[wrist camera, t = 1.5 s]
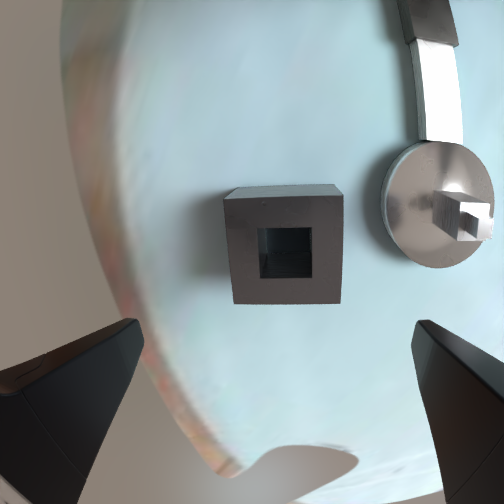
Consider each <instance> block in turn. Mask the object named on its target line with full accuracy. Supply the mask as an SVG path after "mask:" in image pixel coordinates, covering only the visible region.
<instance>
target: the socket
mask: <svg viewBox="0 0 504 504" xmlns="http://www.w3.org/2000/svg"><path fill="white" fill-rule="evenodd" d="M223 202H224V213H225V223H226V233H227V243H228V253H229V263H230V273H231V282H232V291H233V301H234V304H340V301H341V284H342V261H343V194H342V193H341V192H340V191H339V189H338V188H337V187H336V186H335V185H334V184H323V185H283V186H258V187H239V188H237V189H235V190H234V191H233V192H232V193H230V194H229V195H228V196H227V197H225V198H224V199H223ZM295 227H310V252H295V253H267V239H266V228H295Z"/></svg>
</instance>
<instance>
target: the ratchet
mask: <svg viewBox="0 0 504 504" xmlns="http://www.w3.org/2000/svg"><path fill="white" fill-rule="evenodd" d="M397 3H398V8H399V12H400V17H401V22H402V27H403V32H404V38H405V44H410V50H411V56H412V64H413V71H414V80H415V89H416V100H417V114H418V133H419V139H420V140H432V141H424V142H420V143H417V144H414V145H412V146H410V147H408V148H407V149H406V150H404V151H403V152H402V153H401V154H400V155H398V156H397V158H396V159H395V160H394V161H393V163H392V164H391V166H390V167H389V169H388V171H387V173H386V175H385V178H384V181H383V184H382V189H381V198H380V204H381V214H382V218H383V222H384V225H385V227H386V230H387V232H388V233H389V235H390V237H391V238H392V239H393V241H394V242H395V243H396V244H397V245H398V247H399V248H400V249H401V250H402V251H403V252H404V253H405V254H406V255H407V256H408V257H409V258H410V259H411V260H413V261H414V262H416V263H418V264H420V265H423V266H426V267H430V268H446V267H450V266H454V265H456V264H458V263H460V262H462V261H464V260H465V259H467V258H468V257H469V256H471V255H472V254H473V253H474V252H475V251H476V250H477V249H478V247H479V246H480V245H481V243H482V242H483V241H486V239H491V238H492V231H493V223H494V219H493V213H494V191H493V186H492V182H491V179H490V176H489V174H488V172H487V170H486V168H485V166H484V164H483V163H482V162H481V160H480V159H479V158H478V157H477V156H476V155H475V154H474V153H473V152H472V151H470V150H469V149H467V148H466V147H464V146H462V145H459V144H457V143H462V124H461V108H460V96H459V87H458V78H457V71H456V64H455V57H454V51H453V48H454V47H456V46H458V45H459V43H458V38H457V33H456V28H455V24H454V20H453V15H452V11H451V8H450V4H449V0H397Z"/></svg>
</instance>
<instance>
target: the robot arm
mask: <svg viewBox="0 0 504 504" xmlns="http://www.w3.org/2000/svg"><path fill="white" fill-rule="evenodd" d="M143 346H144V337H143V334H142V330H141V327H140V323H139V321H138V320H137V319H134V318H125V319H123V320H121V321H118V322H116V323H114V324H112V325H109V326H107V327H105V328H102V329H100V330H98V331H96V332H93V333H91V334H89V335H86V336H84V337H82V338H80V339H78V340H75V341H73V342H70V343H68V344H66V345H64V346H61V347H59V348H57V349H55V350H52V351H50V352H47V353H46V354H43V355H40V356H38V357H36V358H33V359H31V360H29V361H26V362H23V363H21V364H18V365H16V366H13V367H10V368H7V369H4V370H2V371H0V504H77V502H78V500H79V497H80V495H81V492H82V490H83V487H84V485H85V483H86V479H87V477H88V475H89V473H90V470H91V468H92V466H93V463H94V461H95V459H96V456H97V454H98V452H99V449H100V447H101V445H102V443H103V440H104V438H105V436H106V434H107V431H108V429H109V427H110V425H111V423H112V420H113V418H114V416H115V414H116V412H117V410H118V407H119V405H120V403H121V401H122V399H123V397H124V394H125V392H126V390H127V388H128V386H129V384H130V382H131V379H132V377H133V374H134V371H135V368H136V366H137V363H138V360H139V357H140V355H141V352H142V349H143ZM411 349H412V354H413V359H414V364H415V369H416V375H417V380H418V385H419V390H420V393H421V397H422V400H423V404H424V407H425V411H426V414H427V418H428V422H429V425H430V429H431V433H432V437H433V441H434V445H435V450H436V454H437V458H438V463H439V468H440V473H441V478H442V483H443V488H444V494H445V500H446V504H504V363H503V362H501V361H500V360H498V359H496V358H495V357H493V356H491V355H490V354H488V353H486V352H484V351H483V350H481V349H479V348H478V347H476V346H474V345H472V344H471V343H469V342H467V341H466V340H464V339H462V338H460V337H459V336H457V335H455V334H454V333H452V332H450V331H448V330H447V329H445V328H443V327H441V326H440V325H438V324H436V323H434V322H433V321H431V320H418V321H417V323H416V325H415V329H414V334H413V338H412V342H411Z"/></svg>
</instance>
